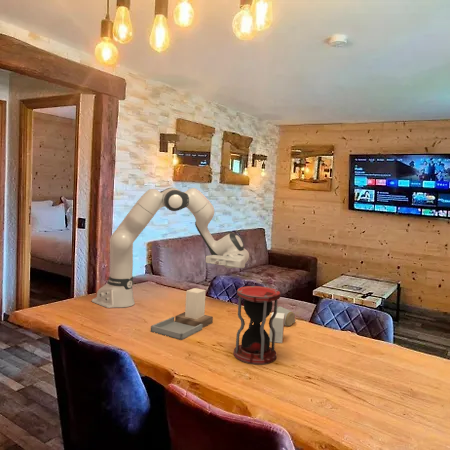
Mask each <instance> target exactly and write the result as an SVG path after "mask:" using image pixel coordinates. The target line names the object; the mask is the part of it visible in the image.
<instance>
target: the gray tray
mask: <svg viewBox="0 0 450 450" xmlns="http://www.w3.org/2000/svg"><path fill="white" fill-rule="evenodd" d="M202 325H203V324H199V325H197V326H195V327H194V326H190V325H186V324H182V323H178V322H175V316H172V317H169V318H167V319H164V320H162V321H160V322H157V323H155V324H151V326H150V332H151V333H154V332H155V333H154V334H157V333H158V334H157V335H161V334H162V335H161V336H165V335H166V336H165V337H168V336H169V337H168V338H173V339H175V338H176V340H180V341H183V340H185V339H186V338H189V337H190V336H193V335H195V334H196V333H198V332H199V333H200V331H203V328H202Z"/></svg>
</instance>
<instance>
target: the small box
mask: <svg viewBox="0 0 450 450" xmlns="http://www.w3.org/2000/svg"><path fill="white" fill-rule="evenodd" d="M273 313H274V311H271V315H270V318H271V317H272V316H273ZM270 318H269V319H270ZM284 319H285V313H277V314H276V316H275V318H274V319H273V322H272V326H273V328H274V329H275V343H278V344H283V340H284V330H285V325H284ZM268 336H269V338H270V343H272V330H271V328H270V327H269V333H268Z"/></svg>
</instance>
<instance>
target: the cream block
mask: <svg viewBox="0 0 450 450" xmlns="http://www.w3.org/2000/svg"><path fill="white" fill-rule="evenodd" d="M206 291H207V290H206V289H202V288H198V287H194V288H191V289H188V290H186V291H185V309H184V310H185V311H184V312H185V317H188V318H193V319H198V318H200V317H202V316H204V315H206V314H205V312H206Z"/></svg>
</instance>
